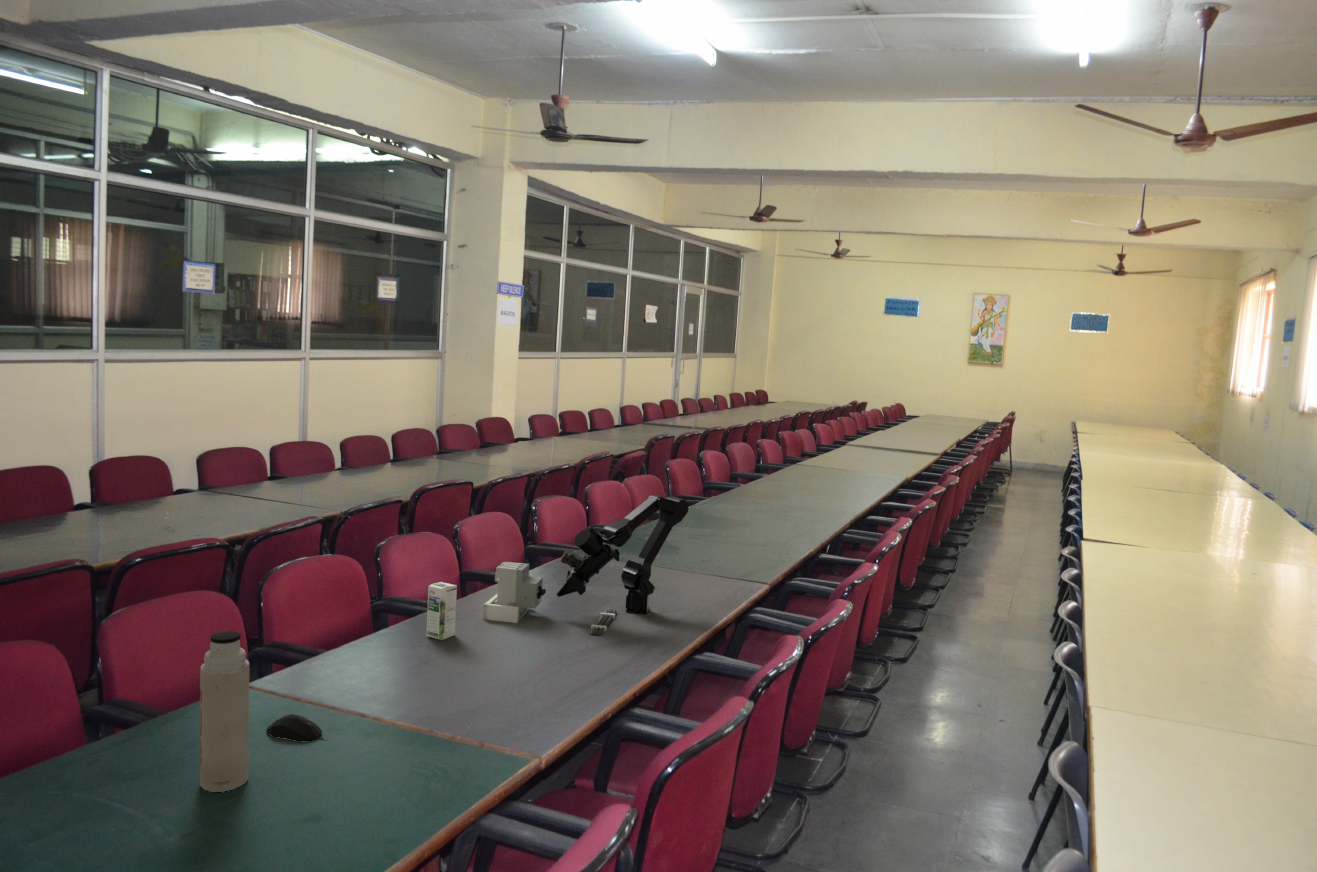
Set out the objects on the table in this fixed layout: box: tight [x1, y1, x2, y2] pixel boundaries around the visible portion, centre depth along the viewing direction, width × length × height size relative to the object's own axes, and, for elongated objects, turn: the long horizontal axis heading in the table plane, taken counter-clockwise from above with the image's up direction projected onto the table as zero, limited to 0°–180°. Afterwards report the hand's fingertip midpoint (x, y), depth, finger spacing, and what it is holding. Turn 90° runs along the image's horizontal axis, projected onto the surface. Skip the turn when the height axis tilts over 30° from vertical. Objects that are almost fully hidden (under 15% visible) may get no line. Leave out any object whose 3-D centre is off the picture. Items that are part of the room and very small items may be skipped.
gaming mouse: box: [266, 713, 325, 742], centre depth 184 cm, size 6×15×4 cm, turn 73°
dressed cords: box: [588, 608, 618, 637], centre depth 266 cm, size 4×22×1 cm, turn 171°
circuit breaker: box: [494, 561, 547, 620], centre depth 269 cm, size 8×14×15 cm, turn 82°
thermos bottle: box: [199, 630, 250, 791], centre depth 162 cm, size 8×8×28 cm
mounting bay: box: [482, 593, 532, 624], centre depth 270 cm, size 10×14×4 cm
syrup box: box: [425, 581, 458, 641], centre depth 247 cm, size 6×6×14 cm
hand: (557, 595), depth 270 cm, fingers closed
